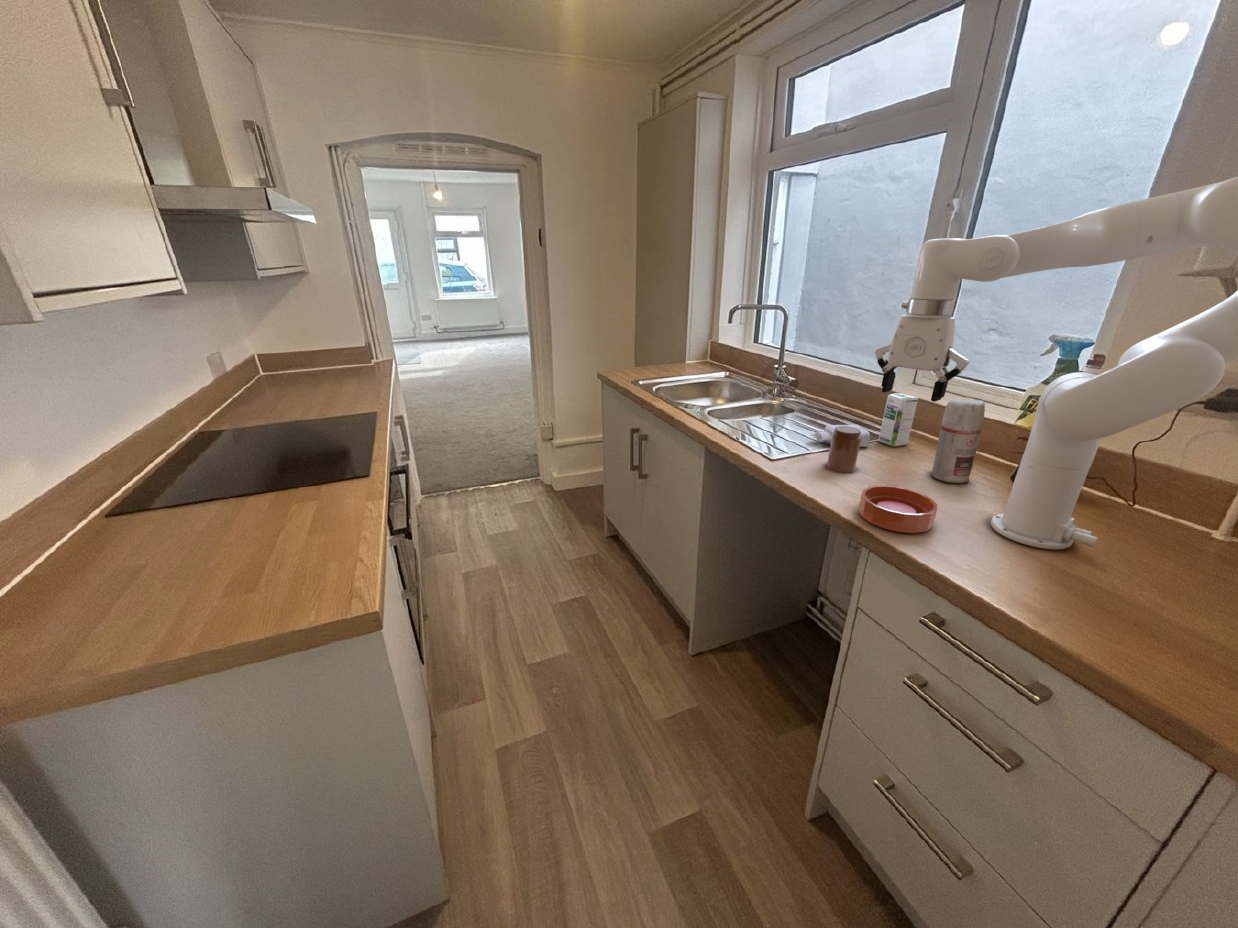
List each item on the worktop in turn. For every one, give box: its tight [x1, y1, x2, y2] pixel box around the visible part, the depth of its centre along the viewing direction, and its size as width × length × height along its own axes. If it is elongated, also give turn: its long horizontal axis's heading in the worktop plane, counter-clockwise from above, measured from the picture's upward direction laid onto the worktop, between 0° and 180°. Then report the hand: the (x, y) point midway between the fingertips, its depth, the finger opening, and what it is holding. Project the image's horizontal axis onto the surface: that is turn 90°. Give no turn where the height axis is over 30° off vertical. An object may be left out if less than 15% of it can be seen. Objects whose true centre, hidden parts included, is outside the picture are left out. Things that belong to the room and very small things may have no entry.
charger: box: [810, 424, 871, 448], centre depth 143 cm, size 5×9×15 cm
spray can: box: [930, 399, 986, 484], centre depth 116 cm, size 8×8×20 cm
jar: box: [826, 426, 861, 474], centre depth 125 cm, size 7×7×11 cm
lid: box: [877, 501, 916, 514], centre depth 100 cm, size 7×7×2 cm
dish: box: [858, 485, 938, 534], centre depth 100 cm, size 14×14×4 cm
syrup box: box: [878, 392, 919, 447], centre depth 141 cm, size 6×6×14 cm
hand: (910, 395), depth 99 cm, fingers open, 9 cm apart
